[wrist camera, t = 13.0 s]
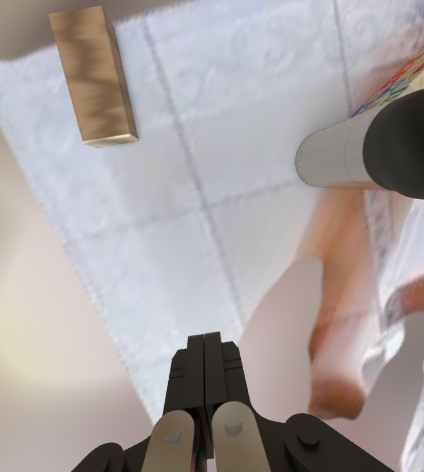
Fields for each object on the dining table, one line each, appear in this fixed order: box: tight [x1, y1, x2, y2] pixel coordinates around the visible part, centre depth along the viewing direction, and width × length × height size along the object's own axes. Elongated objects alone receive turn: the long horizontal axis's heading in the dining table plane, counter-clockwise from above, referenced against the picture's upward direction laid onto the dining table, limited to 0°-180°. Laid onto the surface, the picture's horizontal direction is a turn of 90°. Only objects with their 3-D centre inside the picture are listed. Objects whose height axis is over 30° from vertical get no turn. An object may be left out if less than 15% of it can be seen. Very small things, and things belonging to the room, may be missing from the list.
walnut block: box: [49, 6, 138, 148], centre depth 34 cm, size 7×4×16 cm
